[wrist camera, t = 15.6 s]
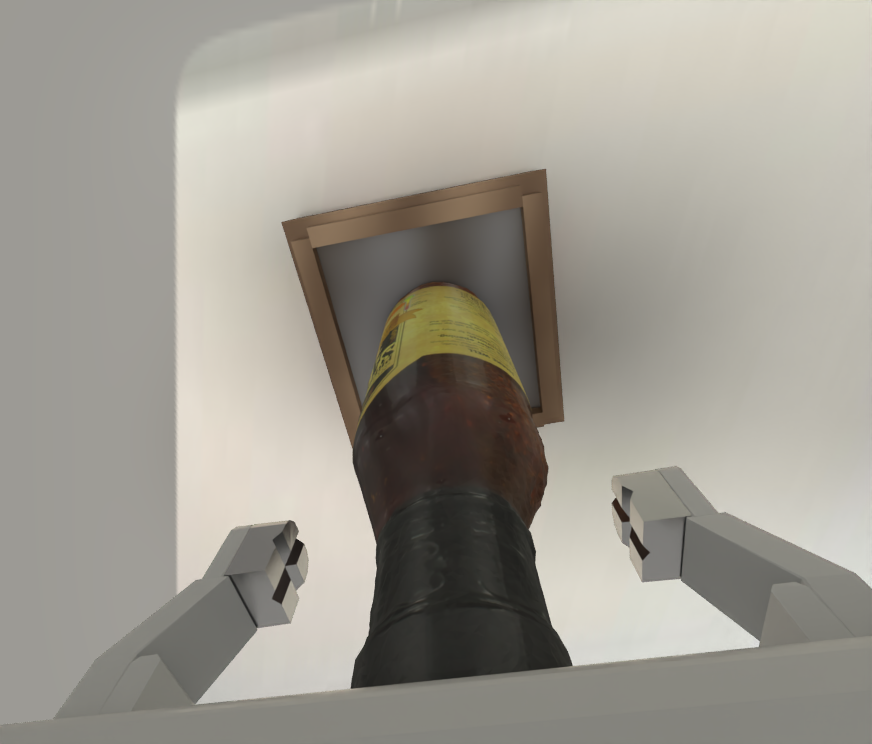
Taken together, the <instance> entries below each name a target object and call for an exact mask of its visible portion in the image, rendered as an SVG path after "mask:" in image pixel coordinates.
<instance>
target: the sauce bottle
mask: <svg viewBox="0 0 872 744" xmlns="http://www.w3.org/2000/svg"><path fill="white" fill-rule="evenodd" d="M532 418H533V415H532V410H531V406H530V403H529V400H528V398H527V395H526V393H525V391H524V388H523V386H522V383H521V381H520V379H519V376H518V374H517V372H516V369H515V367H514V365H513V362H512V360H511V357H510V355H509V353H508V350H507V348H506V346H505V343H504V341H503V339H502V336H501V334H500V332H499V329H498V327H497V325H496V323H495V320H494V318H493V316H492V315H491V313H490V311H489V309H488V308H487V307H486V305H485V304H484V303H483V302H482V301H481V300H479V299H478V297H477V296H476V295H475V294H474V293H473V292H471V291H470V290H469V289H467V288H464V287H461V286H458V285H454V284H451V283H445V282H431V283H426V284H423V285H420V286H419V287H417V288H415V289H413V290H412V291H411V292H409V293H408V294H407V295H406V296H404V297H403V298H401V299H400V300H399V302H398V303H397V304H396V306H395V307H394V308H393V310H392V312H391V313H390V315H389V316H388V319H387V321H386V324H385V327H384V331H383V334H382V338H381V342H380V345H379V349H378V353H377V355H376V360H375V363H374V366H373V370H372V373H371V376H370V380H369V382H368V388H367V393H366V397H365V400H364V402H363V406H362V411H361V414H360V416H359V419H358V426H357V430H356V434H355V438H354V444H353V465H354V469H355V472H356V475H357V478H358V481H359V484H360V488H361V491H362V494H363V498H364V501H365V504H366V508H367V511H368V515H369V518H370V521H371V525H372V528H373V532H374V536H375V540H376V544H377V546H376V565H377V572H376V578H375V590H374V599H373V604H372V608H371V612H370V623H369V626H370V629H369V636H368V637H367V639H366V642H365V645H364V647H363V648H362V650H361V652H360V653H359V655H358V656H357V658H356V660H355V665H354V671H353V676H352V682H351V689H354V688H364V687H374V686H384V685H394V684H404V683H413V682H423V681H433V680H443V679H453V678H463V677H472V676H482V675H492V674H502V673H511V672H521V671H531V670H540V669H550V668H560V667H569V666H573V665H572V662H571V659H570V656H569V654H568V651H567V649H566V648H565V646H564V644H563V642H562V641H561V639H560V637H559V635H558V634H557V632H556V631H555V630H554V629H553V627H552V625H551V621H550V618H549V614H548V610H547V606H546V603H545V599H544V595H543V591H542V588H541V585H540V581H539V576H538V572H537V569H536V565H535V556H536V550H535V547H534V543H533V539H532V535H531V532H530V531H529V530H528V529H529V528H530V525H531V524H532V521H533V518H534V516H535V513H536V512H537V510H538V509H539V508H540V506H541V500H542V498H543V495H544V490H545V487H546V485H547V474H548V465H547V462H546V458H545V454H544V445H543V443H542V439H541V437H540V436H539V432H538V430H537V428H536V425H535V423H534V421H533V419H532Z"/></svg>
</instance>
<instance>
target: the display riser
mask: <svg viewBox="0 0 872 744" xmlns="http://www.w3.org/2000/svg"><path fill="white" fill-rule="evenodd" d="M282 226H283V229H284V232H285V235H286V238H287V241H288V245H289V248H290V251H291V254H292V257H293V261H294V264H295V267H296V270H297V273H298V276H299V280H300V283H301V286H302V289H303V292H304V296H305V299H306V302H307V305H308V308H309V312H310V315H311V318H312V321H313V324H314V327H315V331H316V334H317V337H318V340H319V343H320V347H321V350H322V353H323V356H324V359H325V362H326V366H327V369H328V372H329V375H330V378H331V382H332V385H333V388H334V391H335V394H336V398H337V401H338V404H339V407H340V410H341V413H342V417H343V420H344V423H345V426H346V429H347V433H348V436H349V439H350V442H351V445H352V448H353V444H354V438H355V434H356V430H357V426H358V419H359V416H360V414H361V411H362V406H363V402H364V400H365V397H366V393H367V388H368V382H369V380H370V376H371V373H372V370H373V366H374V363H375V360H376V355H377V353H378V349H379V345H380V342H381V338H382V334H383V331H384V327H385V324H386V321H387V319H388V316H389V315H390V313H391V312H392V310H393V308H394V307H395V306H396V304H397V303H398V302H399V300H400V299H401V298H403V297H404V296H406V295H407V294H408V293H409V292H411V291H412V290H413V289H415V288H417V287H419V286H420V285H423V284H426V283H431V282H445V283H451V284H454V285H458V286H461V287H464V288H467V289H469V290H470V291H471V292H473V293H474V294H475V295H476V296H477V297H478V299H479V300H481V301H482V302H483V303H484V304H485V305H486V307H487V308H488V309H489V311H490V313H491V315H492V316H493V318H494V320H495V323H496V325H497V327H498V329H499V332H500V334H501V336H502V339H503V341H504V343H505V346H506V348H507V350H508V353H509V355H510V357H511V360H512V362H513V365H514V367H515V369H516V372H517V374H518V376H519V379H520V381H521V383H522V386H523V388H524V391H525V393H526V395H527V398H528V400H529V403H530V406H531V410H532V415H533V418H532V419H533V421H534V423H535V425H536V428H537V427H543V426H544V424H550V423H556V422H562V421H564V412H563V398H562V384H561V371H560V357H559V343H558V329H557V315H556V302H555V288H554V274H553V260H552V247H551V233H550V219H549V205H548V192H547V178H546V169H542V170H536V171H530V172H525V173H520V174H515V175H510V176H505V177H500V178H495V179H490V180H486V181H481V182H476V183H471V184H466V185H461V186H456V187H451V188H446V189H441V190H436V191H431V192H426V193H421V194H416V195H411V196H406V197H401V198H396V199H391V200H386V201H381V202H376V203H371V204H366V205H361V206H356V207H351V208H347V209H342V210H337V211H332V212H327V213H322V214H317V215H312V216H307V217H302V218H297V219H293V220H289V221H284V222H282Z"/></svg>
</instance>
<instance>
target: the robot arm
mask: <svg viewBox="0 0 872 744" xmlns="http://www.w3.org/2000/svg"><path fill="white" fill-rule="evenodd" d="M612 491H613V493H614V494H615V496H616V498H615V500H614V501H613V502H612V515H613V520H614V525H615V528H616V530H617V533H618V535H619V538H620V540H621V542H622V543H623V544H625V545H626V546H628V547H630V560H631V562H632V564H633V566H634V567H635V569H636V571H637V573H638V575H639V577H640V579H641V581H642V582H649V581H661V580H672V579H681V581H682V582H684V583H685V584H686V585H688V586H689V587H690V588H691V589H693V590H694V591H695V592H697V593H698V594H699V595H701V596H702V597H703V598H704V599H706V600H707V601H708V602H710V603H711V604H712V605H714V606H715V607H716V608H717V609H719V610H720V611H721V612H723V613H724V614H725V615H727V616H728V617H729V618H730V619H732V620H733V621H734V622H736V623H737V624H738V625H740V626H741V627H742V628H743V629H745V630H746V631H747V632H749V633H750V634H751V635H753V636H754V637H755V638H756V639H758V640H759V641H760V644H759V647H755V648H745V649H735V650H726V651H716V652H706V653H696V654H686V655H676V656H667V657H657V658H647V659H637V660H627V661H618V662H608V663H598V664H589V665H579V666H569V667H560V668H550V669H540V670H531V671H521V672H511V673H502V674H492V675H482V676H472V677H463V678H453V679H443V680H433V681H423V682H413V683H404V684H394V685H384V686H374V687H364V688H354V689H345V690H335V691H325V692H315V693H306V694H296V695H286V696H276V697H266V698H257V699H247V700H237V701H227V702H218V703H208V704H198V705H195V704H196V703H197V701H198V700H199V699H200V698H201V697H202V696H203V694H204V693H205V692H206V691H207V690H208V688H209V687H210V686H211V685H212V684H213V682H214V681H215V680H216V679H217V678H218V676H219V675H220V674H221V673H222V672H223V671H224V669H225V668H226V667H227V666H228V665H229V663H230V662H231V661H232V660H233V659H234V657H235V656H236V655H237V654H238V653H239V651H240V650H241V649H242V648H243V647H244V646H245V644H246V643H247V642H248V641H249V640H250V638H251V637H252V636H253V635H254V634H255V632H256V631H257V628H261V627H268V626H275V625H282V624H288V623H291V621H292V618H293V615H294V612H295V609H296V606H297V603H298V600H299V597H298V594H297V592H296V590H297V589H298V588H299V587H300V586H301V585H302V584H303V583H304V582H305V579H306V576H307V573H308V561H309V560H308V554H307V550H306V547H305V545H304V544H303V543H302V542H301V541H299V540H298V539H296V537H297V535H298V532H299V531H298V528H297V526H296V524H295V522H293V521H290V520H288V521H279V522H270V523H262V524H254V525H247V526H238V527H235V528H234V529H232V530H231V531H230V533H229V535H228V536H227V538H226V540H225V541H224V543H223V545H222V546H221V548H220V550H219V551H218V553H217V555H216V556H215V558H214V560H213V561H212V563H211V565H210V566H209V568H208V570H207V571H206V573H205V575H204V576H203V578H202V579H200V580H195V581H194V582H193V583H192V584H190V585H189V586H188V587H187V588H185V589H184V590H183V591H182V592H180V593H179V594H178V595H176V596H175V597H174V598H173V599H171V600H170V601H169V602H168V603H166V604H165V605H164V606H163V607H161V608H160V609H159V610H158V611H156V612H155V613H154V614H153V615H151V616H150V617H149V618H147V619H146V620H145V621H144V622H142V623H141V624H140V625H139V626H137V627H136V628H135V629H133V630H132V631H131V632H130V633H128V634H127V635H126V636H125V637H123V638H122V639H121V640H120V641H118V642H117V643H116V644H115V645H113V646H112V647H111V648H109V649H108V650H107V651H106V652H104V653H103V654H102V655H101V656H99V657H98V658H97V659H96V660H95V661H94V663H93V664H92V665H91V667H90V668H89V669H88V671H87V672H86V674H85V675H84V676H83V678H82V679H81V681H80V682H79V683H78V685H77V686H76V688H75V689H74V690H73V692H72V693H71V695H70V696H69V698H68V699H67V700H66V702H65V703H64V704H63V706H62V707H61V708H60V710H59V711H58V713H57V714H56V715H55V717H54V718H53V719H52V720H43V721H33V722H23V723H14V724H3V725H0V744H872V588H870V587H869V586H868V585H867V584H866V583H865V582H864V581H863V580H862V579H861V578H860V577H859V576H858V575H857V574H856V573H854V572H851V571H849V570H847V569H845V568H843V567H841V566H839V565H837V564H834V563H832V562H830V561H828V560H826V559H824V558H822V557H819V556H817V555H815V554H813V553H811V552H809V551H807V550H805V549H802V548H800V547H798V546H796V545H794V544H792V543H790V542H788V541H785V540H783V539H781V538H779V537H777V536H775V535H773V534H770V533H768V532H766V531H764V530H762V529H760V528H758V527H756V526H753V525H751V524H749V523H747V522H745V521H743V520H741V519H739V518H736V517H734V516H732V515H730V514H728V513H726V512H724V513H718V512H717V511H716V509H715V508H714V507H713V506H712V505H711V503H710V502H709V501H708V500H707V499H706V498H705V496H704V495H703V494H702V493H701V492H700V490H699V489H698V488H697V487H696V486H695V485H694V483H693V482H692V481H691V480H690V479H689V477H688V476H687V475H686V474H685V473H684V472H683V470H682V469H681V468H679V467H677V466H674V467H667V468H661V469H655V470H650V471H643V472H636V473H630V474H623V475H616V476H613V477H612Z"/></svg>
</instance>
